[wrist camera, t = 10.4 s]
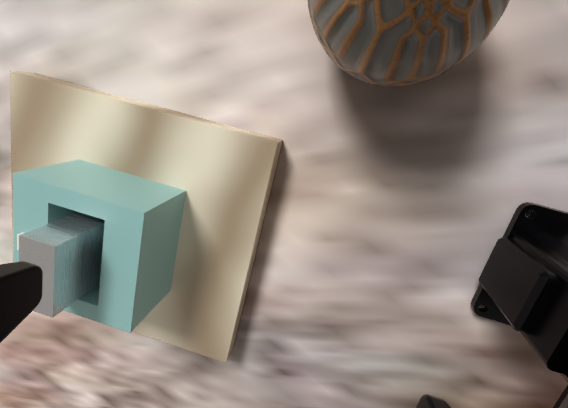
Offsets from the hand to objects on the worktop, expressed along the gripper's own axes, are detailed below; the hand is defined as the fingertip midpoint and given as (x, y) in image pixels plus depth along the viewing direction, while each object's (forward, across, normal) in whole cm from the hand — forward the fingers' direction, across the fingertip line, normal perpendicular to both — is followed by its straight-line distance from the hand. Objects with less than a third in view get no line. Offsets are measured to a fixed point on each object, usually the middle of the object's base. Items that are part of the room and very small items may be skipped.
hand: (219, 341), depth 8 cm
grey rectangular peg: (+11, +9, +4) cm, 14 cm away
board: (+12, +9, +4) cm, 16 cm away
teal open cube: (+10, +9, +4) cm, 14 cm away
